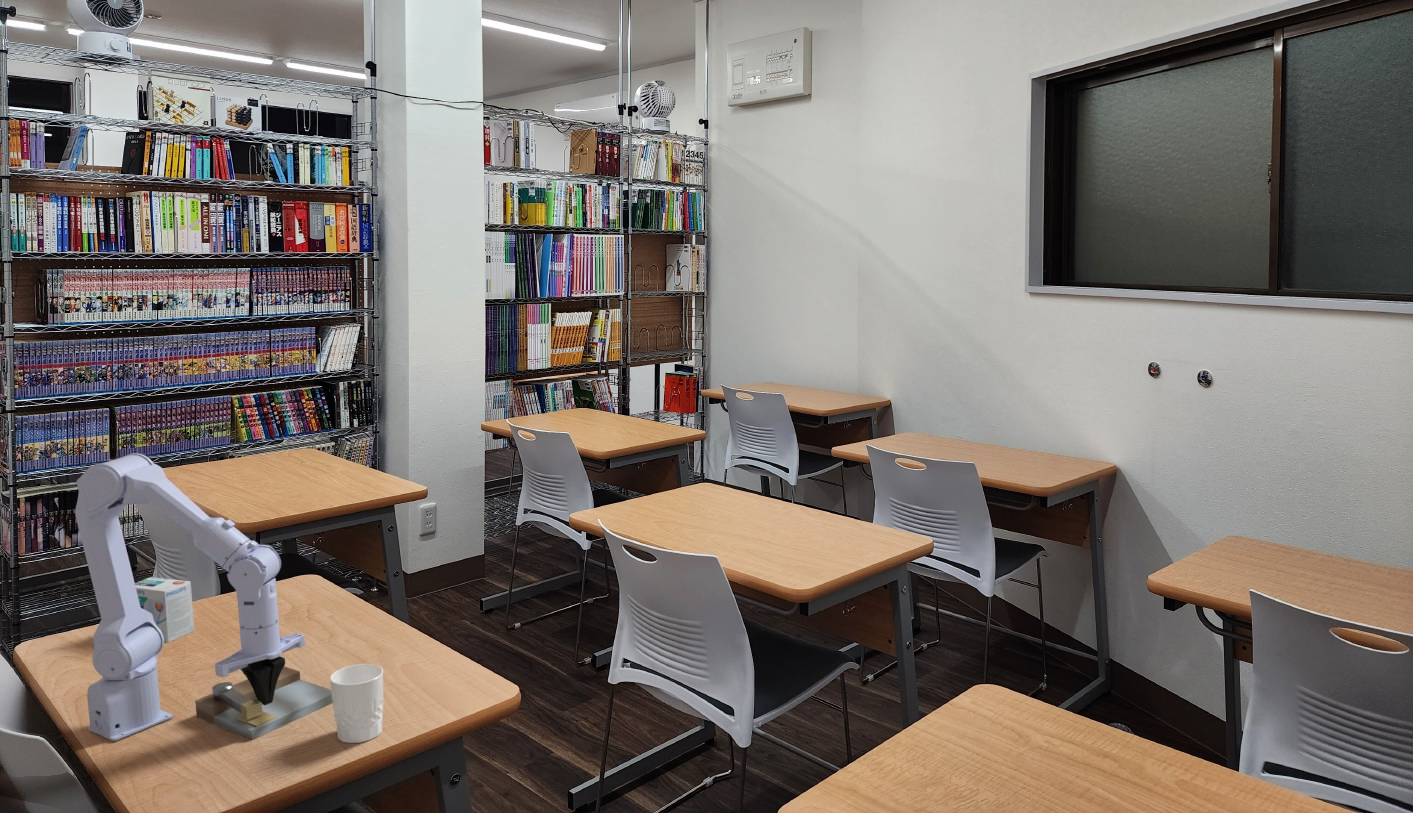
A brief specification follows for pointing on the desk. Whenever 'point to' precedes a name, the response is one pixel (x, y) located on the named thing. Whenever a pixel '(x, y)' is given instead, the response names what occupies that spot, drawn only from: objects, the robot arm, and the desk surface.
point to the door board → (286, 707)
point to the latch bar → (237, 700)
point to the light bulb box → (168, 605)
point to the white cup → (358, 702)
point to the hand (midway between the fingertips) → (265, 702)
